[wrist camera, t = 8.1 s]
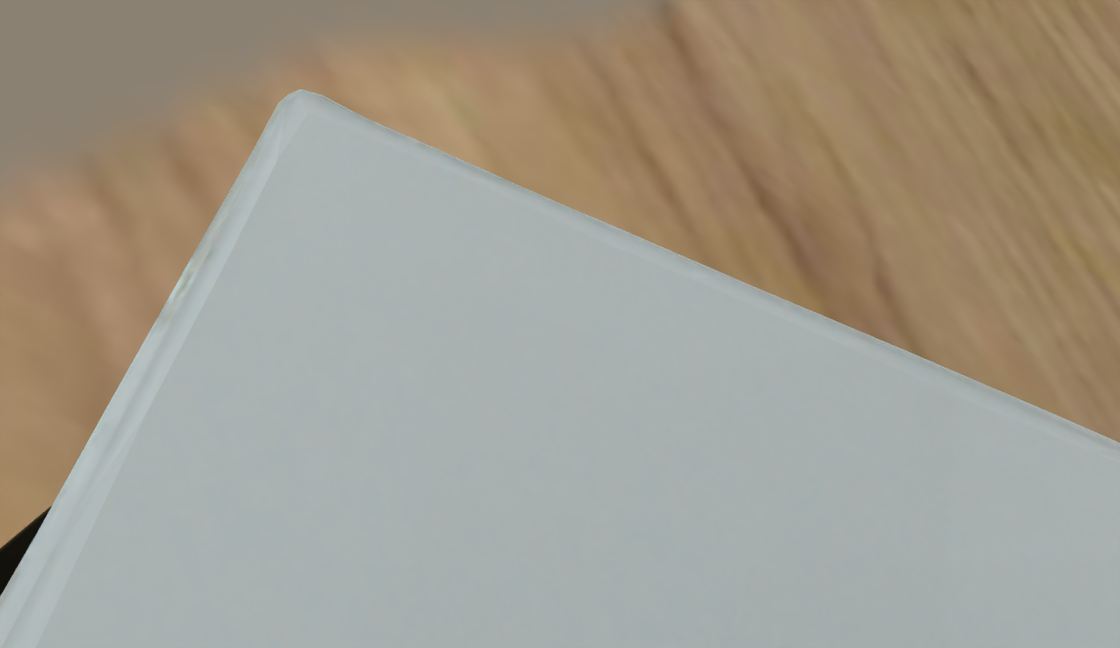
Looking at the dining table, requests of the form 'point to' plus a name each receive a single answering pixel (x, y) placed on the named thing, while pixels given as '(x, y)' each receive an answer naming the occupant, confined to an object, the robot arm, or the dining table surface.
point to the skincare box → (540, 445)
